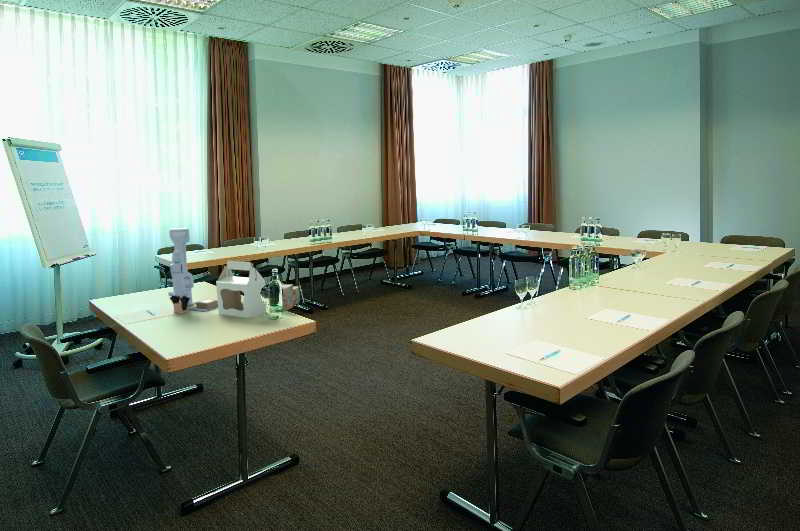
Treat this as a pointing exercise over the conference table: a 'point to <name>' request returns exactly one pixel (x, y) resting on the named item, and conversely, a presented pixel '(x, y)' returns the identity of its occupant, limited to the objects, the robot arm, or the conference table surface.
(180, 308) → the terracotta cube
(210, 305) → the plate
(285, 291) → the white printed box
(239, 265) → the gable box
